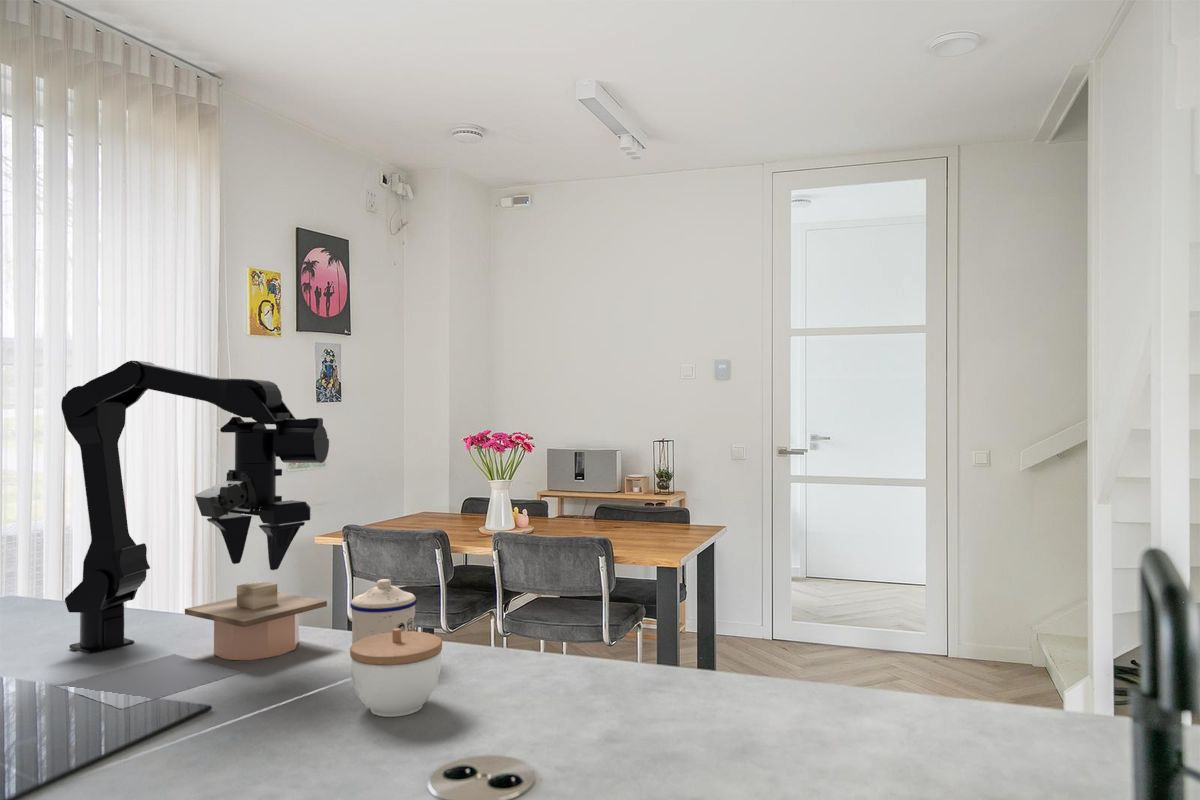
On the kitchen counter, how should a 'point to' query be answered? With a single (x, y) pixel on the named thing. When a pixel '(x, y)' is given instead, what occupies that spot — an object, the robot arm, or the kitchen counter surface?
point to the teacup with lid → (382, 611)
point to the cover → (255, 605)
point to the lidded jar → (396, 671)
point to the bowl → (256, 639)
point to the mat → (155, 677)
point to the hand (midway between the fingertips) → (254, 566)
